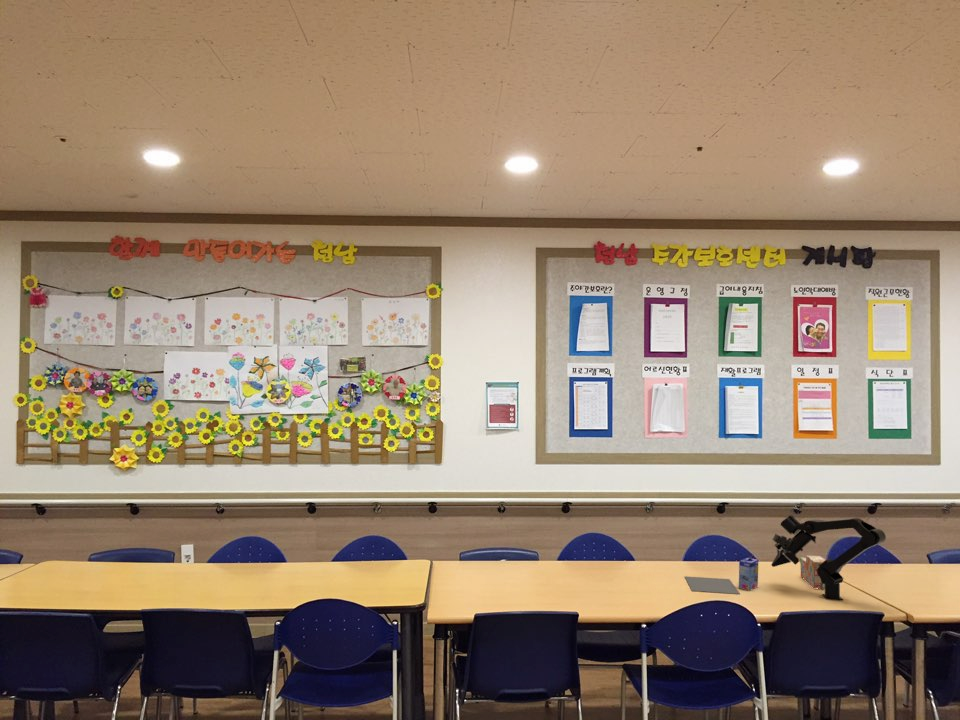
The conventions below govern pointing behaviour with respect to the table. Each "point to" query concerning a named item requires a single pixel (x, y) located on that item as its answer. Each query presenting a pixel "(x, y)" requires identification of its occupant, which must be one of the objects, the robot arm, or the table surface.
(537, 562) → the table surface
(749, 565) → the ink cartridge box
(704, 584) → the mat
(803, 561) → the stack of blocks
